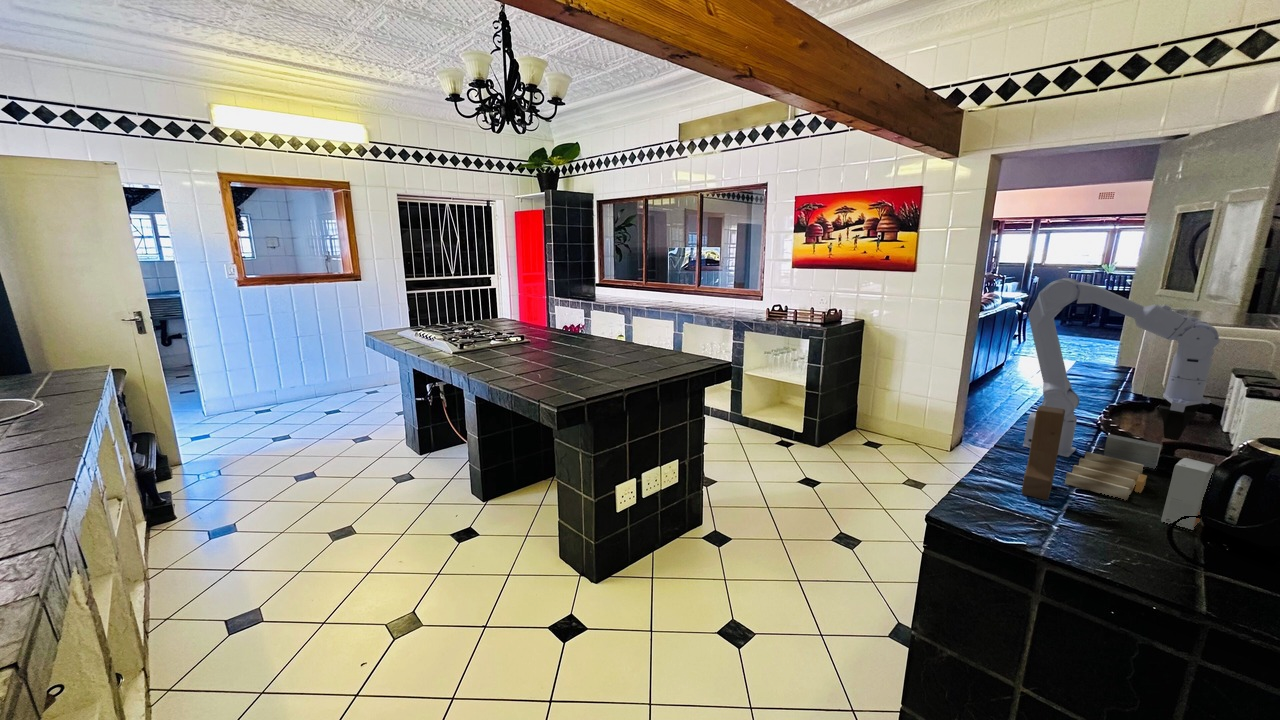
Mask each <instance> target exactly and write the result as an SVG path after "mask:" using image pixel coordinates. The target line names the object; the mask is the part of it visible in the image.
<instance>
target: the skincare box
mask: <svg viewBox="0 0 1280 720" xmlns="http://www.w3.org/2000/svg"><path fill="white" fill-rule="evenodd" d="M1215 467H1216V465H1215V464H1214V463H1213V464H1212V463H1208V462H1203V461H1200V460H1195V459H1192V458H1187V457H1183V458H1182V459H1179V461H1178V462H1177V463H1176V464H1175V465H1174V468H1173V472H1172V476H1171V478H1170V479H1171V481H1170V484H1169V488H1168V492H1167V496H1166V500H1165V504H1164V507H1163V510H1162V511H1163V512H1162V516H1161V519H1160V522H1161V523H1163V522H1165V523H1164V524H1166V523H1168V524H1167V525H1169V524H1170V523H1173V522H1175V521H1177V520H1178V519H1180V518H1181V517H1184V516H1198V515H1200V509H1201V504H1202V500H1203V497H1204V494H1205V492H1206V489H1207V486H1208V483H1209V480H1210V478H1211V475H1212V473H1213V474H1214V472H1215V471H1214V470H1215ZM1212 476H1213V475H1212ZM1199 522H1200V523H1201V521H1200V519H1199V518H1196V517H1189V518H1186V519H1182V520H1180V521H1179V522H1177V523H1176V525H1177V526H1180V527H1185V528H1188V529H1191V530H1193V531H1194V529H1195V528H1196V527H1197V526H1198V525H1197V523H1199ZM1200 523H1199V524H1200ZM1196 525H1197V526H1196ZM1195 526H1196V527H1195ZM1194 527H1195V528H1194Z"/></svg>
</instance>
